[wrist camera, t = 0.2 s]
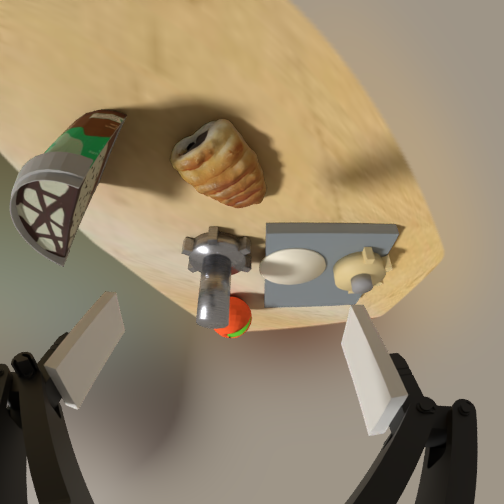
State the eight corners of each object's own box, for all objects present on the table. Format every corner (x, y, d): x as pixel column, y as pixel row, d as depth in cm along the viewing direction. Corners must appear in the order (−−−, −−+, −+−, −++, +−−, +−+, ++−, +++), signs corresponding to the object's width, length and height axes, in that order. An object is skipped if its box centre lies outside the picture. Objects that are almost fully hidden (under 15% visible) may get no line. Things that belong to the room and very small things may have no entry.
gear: (178, 227, 33) (164, 305, 27) (249, 225, 32) (248, 307, 27) (193, 267, 40) (185, 334, 34) (251, 267, 40) (251, 336, 34)
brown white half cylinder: (74, 76, 16) (1, 147, 10) (133, 101, 19) (80, 182, 13) (51, 171, 24) (9, 245, 18) (96, 191, 27) (63, 269, 22)
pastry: (283, 179, 27) (286, 207, 25) (228, 205, 30) (225, 233, 28) (224, 107, 20) (219, 131, 18) (165, 147, 24) (154, 174, 21)
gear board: (258, 223, 32) (259, 260, 29) (400, 224, 31) (412, 258, 29) (259, 299, 48) (259, 326, 46) (357, 296, 48) (361, 322, 45)
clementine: (236, 283, 44) (234, 326, 40) (265, 297, 48) (265, 337, 44) (203, 297, 48) (199, 336, 44) (231, 309, 52) (230, 346, 48)
